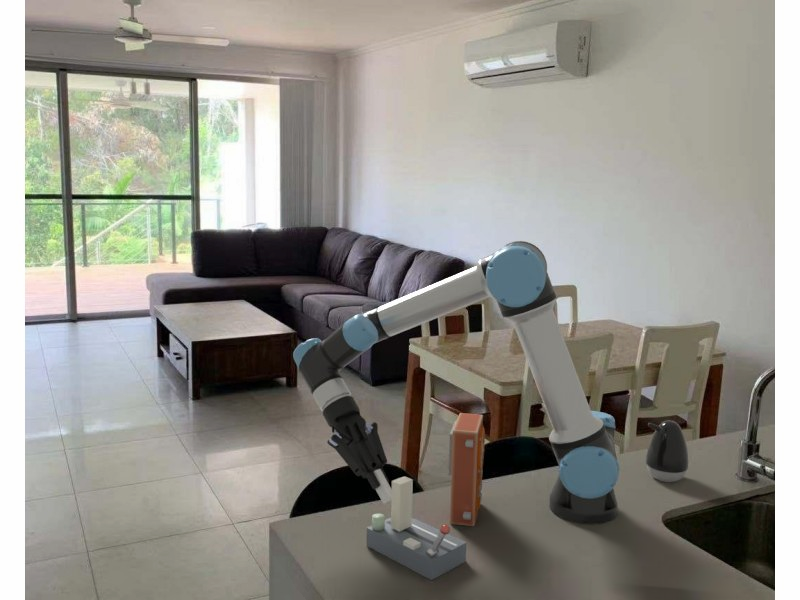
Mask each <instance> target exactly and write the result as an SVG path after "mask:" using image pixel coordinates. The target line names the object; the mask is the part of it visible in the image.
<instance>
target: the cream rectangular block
mask: <svg viewBox="0 0 800 600" xmlns="http://www.w3.org/2000/svg"><path fill="white" fill-rule="evenodd" d="M413 481H414V479H412V478H410V477H407V476H405V475H404V476H402V477H398V478H396V479H393V480H391V489H392V499H391V500H390V502H391V505H390V506H391V510H390V512H391V513H390V515H391V516H390V517H391V528H393V529H395V530H397V531H399V532H400V531H402V530H404V529H406V528H408V527H411V526H412V518H413V483H414V482H413Z"/></svg>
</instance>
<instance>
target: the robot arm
mask: <svg viewBox="0 0 800 600" xmlns="http://www.w3.org/2000/svg"><path fill="white" fill-rule="evenodd" d="M489 298H491V299H494V300H496V302H497V306H498V308H499V311H500V313H501V316H502V318H503V320H506V321H508V322H510V323H512V324H513V326H514V330H515V333H516V335H517V338H518V340H519V342H520V345H521V348H522V351H523V353H524V356H525V358H526V361H527V365H528V366H529V369H530V372H531V374H532V378H533V380H534V383H535V385H536V388H537V390H538V393H539V396H540V398H541V402H542V404H543V406H544V409H545V411H546V415H547V417H548V420H549V422H550V424H551V427H552V430H551V432H550V434H549V436H548V439H549V442H550V445H551V448H552V451H553V453H554V456H555V458H556V462H557V464H558V475H557V478H556V480H555V482H554V485H553V488H552V490H551V493H550V494H549V495H550V496H549V505H548V506H549V510H551V512H552V513H553V514H554V515H556V516H558V517H560V518H561V519H564V520H566V521H570V522H574V523H578V524H579V523H580V524H589V525H595V524H597V525H598V524H605V523H608V522H611V521H613V520H614V519H615V518H616V517H617V516H618V515H617V514H618V501H617V497H616V494H615V490H614V487H615V486H616V484H617V482H618V479H619V473H620V465H619V463H618V458H617V452H616V447H615V431H616V427H617V426H616V421H615V420H616V419H615V418H614V416H612V415H611V414H608V413H606V412H603V411H602V412H601V411H598V410H597V411H596V410H591V407H590V405H589V403H588V399H587V397H586V395H585V391H584V389H583V386H582V384H581V381H580V377H579V375H578V372H577V371H576V367H575V365H574V363H573V359H572V357H571V354H570V352H569V348H568V346H567V344H566V340H565V338H564V335H563V333H562V330H561V328H560V324H559V322H558V319H557V316H556V314H555V311H554V305H555V304H556V302H557V299H558V297H557V295H556V293H555V290H554V286H553V284H552V281H551V279H550V276H549V273H548V263H547V259H546V256H545V255H544V253H543V251H542V250H541V249H540V248H539V247H538V246H536V245H535V244H533V243H531V242H528V241H523V240H520V241H519V240H517V241H512V242H509V243H506V245H504V246H502V247H501V248H500V249H498V250H497V251H495V252H493V253H491V254H489V255H487V256H485V257H483V258H480V259H479V260H478V262H477V264H476V266H473V267H471V268H468V269H466V270H464V271H461V272H459V273H456V274H454V275H452V276H449V277H447V278H444V279H442V280H439V281H437V282H435V283H433V284H430V285H428V286H426V287H423V288H421V289H418V290H416V291H413V292H411V293H409V294H406V295H404V296H402V297H401V296H400V297H399V298H396V299H394V300H392V301H390V302H387V303H385V304H383V305H380V306H379V307H376V308H372V309H371V310H368V311H367V310H366V311H362V312H361V313H358V314H355V315H354V316H352V317H351V318H349V319H348V320H346V321H345V322H343V324H342V325H341V326H339V328H337V329H336V330H334V332H332V333H331V334H329V336H328V337H326V338H325V339H323V340H322V339H320V338H319V337H314V338H310V339H307V340H306V341H304V342H301V343H300V344H299V345H297V346H296V348H295V349H294V351H293V354H292V355H293V356H292V357H293V360H294V362H295V364H296V366H297V370H298V373H300V375H301V376H302V378H303V380H304V382H305V383H306V385H307V387H308V389H309V391H310V393H311V394H312V397H313V398H314V400H315V403H316V404H317V406H318V409H319V410H320V411H321V412H322V416H323V418H324V419H325V421H326V424H327V426H329V427H330V428H331V432H332V435H331V437H330V438H329V439H328V440H327V444H328V445H329V446H330V447H331V448H333V449H335V451H336V452H337V453H338V454H339V456H340V457H341V459H342V460H343V461H344V462H345V463H346V465H347V466H348V467H349V468H350V470H352V472H353V473H354V475H356V476H357V477H360V476H361V478H363V479H367V481H368V483H369V484H370V486H371V488H372V489H373V490H375V491H376V493H377V495H378V496H379V498H380V500H381V502H382V504H383V505H385V504H387V503H389V502H391V499H392V486H390V484H389V482H390V479H389V478H388V476H387V475H386V472H385V471H384V468H383V467H384V466H385V465H386V464H387V463H388V459H387V456H386V454H385V450H384V447H383V443H382V441H381V437H380V435H379V431H378V430H379V429H378V428H379V427H378V423H377V422H375V421H373V422H372V423H370V422H367V421H366V419H365V417H363V416H362V415H361V412H360V407H359V405H358V404H357V402H356V400H355V398H354V396H352V393H351V391H350V389H349V388H348V385H347V383H346V381H344V379H343V377H342V375H341V372H340V371H341V370H343V369H344V368H345V367H346V366H347V365H349V364H350V363H351V362H354V360H355V359H357V358H358V357H360V356H361V355H362V354H364V352H367V351H368V350H369V349H371V348H372V347H373V345H374V344H376V343H379V342H382V341H383V340H387V339H388V338H390V337H393V336H396V335H398V334H400V333H403V332H405V331H408V330H411V329H413V328H416V327H418V326H421V325H424V324H425V323H428V322H431V321H433V320H436V319H438V318H440V317H443V316H446V315H448V314H451V313H453V312H455V311H458V310H460V309H463V308H466V307H469V306H471V305H472V304H475V303H478V302H481V301H483V300H485V299H489Z"/></svg>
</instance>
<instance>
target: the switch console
mask: <svg viewBox="0 0 800 600" xmlns="http://www.w3.org/2000/svg"><path fill="white" fill-rule="evenodd" d="M439 533H440V529H438V528H435V527H433V526H432V525H429V524H428V523H425V522H423V521H421V520H418V519H416V518H414V517H412V526H411V527H408V528H406V529H404V530H402V531H400V532H399V531H397V530H395V529H393V528H391V516H390V517H389V518H385V528H384V529H383V530H379V531H377V530H374V529H372V525H370V526H367V527H366V547H367V548H369V549H371V548H372V550H373V549H374V551H375V552H377V553H379V554H381V555H383V556H385V557H387V558H389V559H391V560H393V561H395V562H396V563H398V564H401V566H404V567H406V568H408V569H410V570H411V571H414V572H415V573H417V574H419V575H421V576H423V577H424V578H427V579H429V580H431V581H432V580H435V579H437V578H438V577H441V576H442V575H444V574H446V573H447V572H450V571H452V570H453V569H455V568H456V567H458V566H461V565H462V564H463V563H465V562H467V542H466V541H465V540H462V539H460V538H457V537H455V536H453V535H451V534H449V533H448V534H446V535H445V537H444V539H443V541H442V542H441V544H440V546H439V548H438V550H439V553H438V554H436V555H434V556H432V557H428V556H427V554H426V551H427V550H428V549H430V548H431V547H432V545H433V543H434V542H435V540H436V538H437V536H438V534H439Z"/></svg>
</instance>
